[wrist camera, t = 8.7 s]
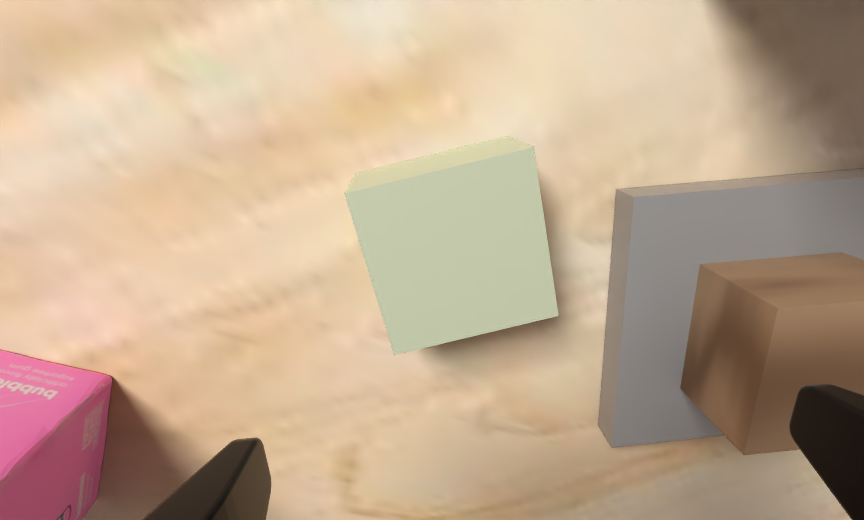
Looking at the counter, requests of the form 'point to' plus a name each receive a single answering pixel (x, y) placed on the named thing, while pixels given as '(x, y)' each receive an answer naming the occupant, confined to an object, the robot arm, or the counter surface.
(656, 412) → the plate
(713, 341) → the walnut block
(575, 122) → the counter surface
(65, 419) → the gum box
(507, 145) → the sage block
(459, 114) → the counter surface
